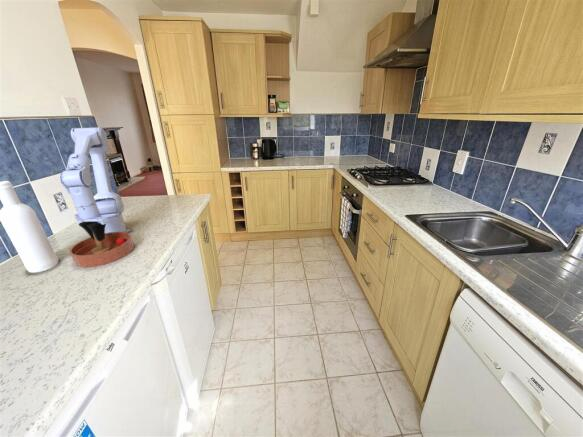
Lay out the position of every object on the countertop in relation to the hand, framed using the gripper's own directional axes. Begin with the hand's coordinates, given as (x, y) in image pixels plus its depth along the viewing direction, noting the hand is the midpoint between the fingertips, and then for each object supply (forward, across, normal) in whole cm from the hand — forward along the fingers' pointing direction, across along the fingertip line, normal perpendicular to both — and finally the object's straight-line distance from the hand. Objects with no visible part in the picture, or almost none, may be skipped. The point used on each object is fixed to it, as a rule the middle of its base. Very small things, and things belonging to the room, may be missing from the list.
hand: (98, 239), depth 89 cm
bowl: (+6, +2, -1) cm, 6 cm away
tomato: (+4, +2, +6) cm, 7 cm away
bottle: (+6, -10, -13) cm, 18 cm away
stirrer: (+5, 0, -1) cm, 5 cm away
